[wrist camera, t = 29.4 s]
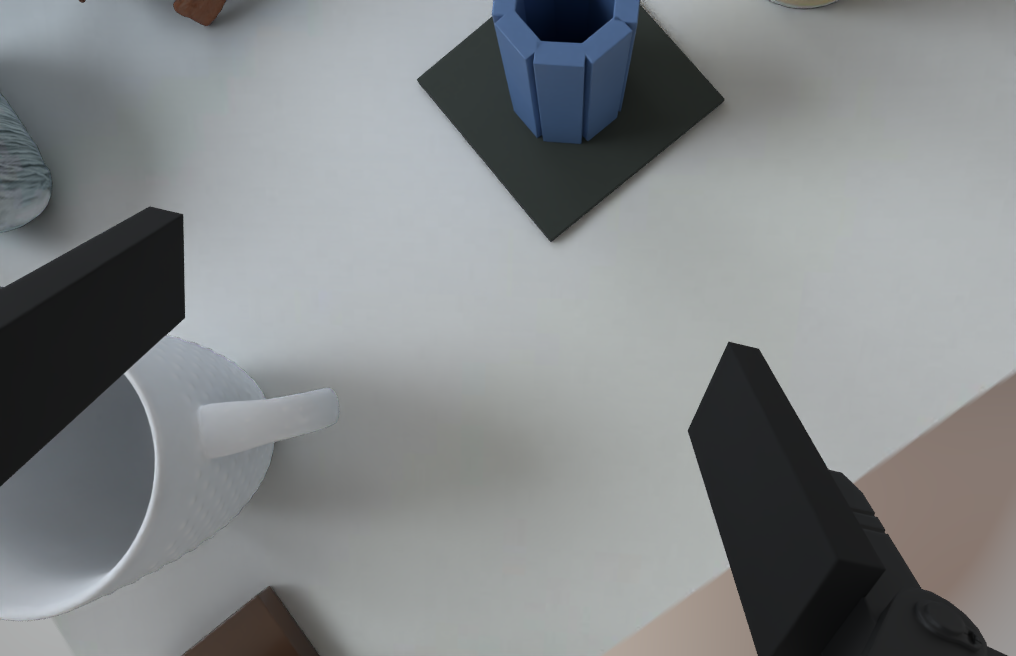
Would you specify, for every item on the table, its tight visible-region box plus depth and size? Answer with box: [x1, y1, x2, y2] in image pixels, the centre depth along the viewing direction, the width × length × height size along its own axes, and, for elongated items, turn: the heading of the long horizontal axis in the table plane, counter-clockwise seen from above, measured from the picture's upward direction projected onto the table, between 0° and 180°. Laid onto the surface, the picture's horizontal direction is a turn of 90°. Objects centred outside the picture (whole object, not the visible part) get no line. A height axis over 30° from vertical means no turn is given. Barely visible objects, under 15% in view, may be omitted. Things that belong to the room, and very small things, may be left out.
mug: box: [0, 336, 340, 621], centre depth 30 cm, size 15×11×13 cm
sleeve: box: [492, 0, 640, 144], centre depth 31 cm, size 6×6×9 cm
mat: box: [417, 5, 724, 242], centre depth 35 cm, size 12×12×1 cm
